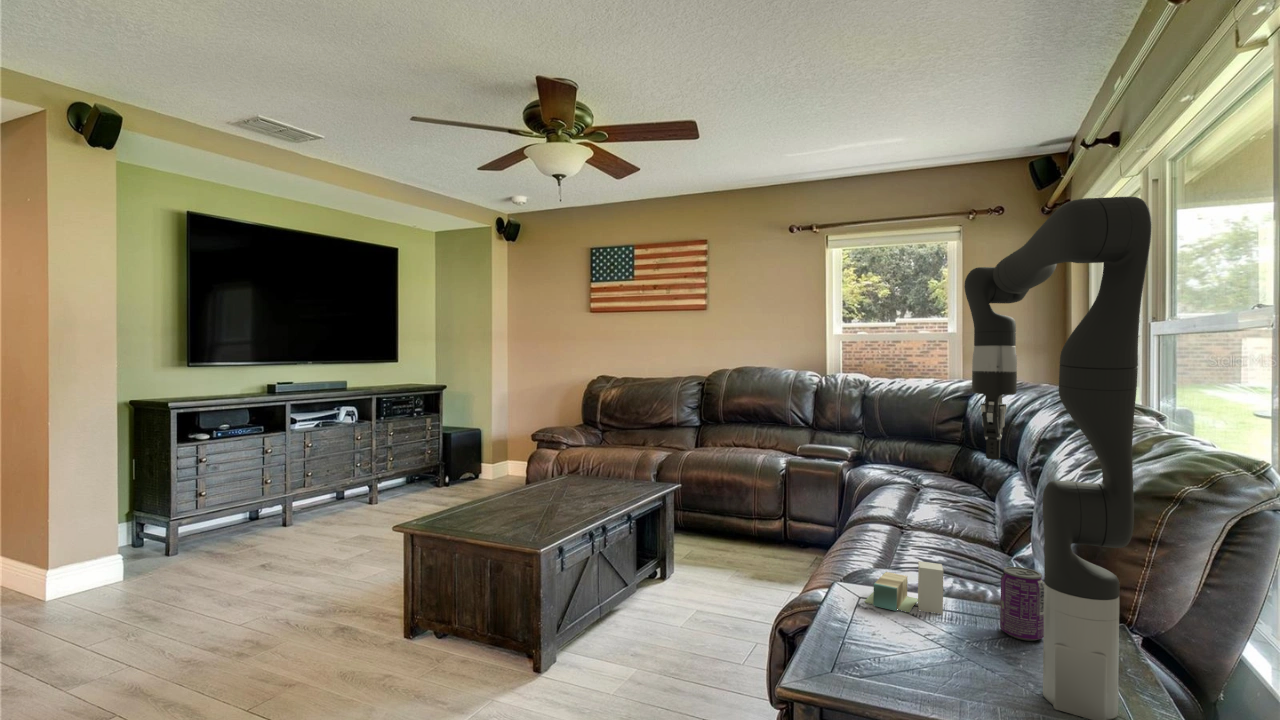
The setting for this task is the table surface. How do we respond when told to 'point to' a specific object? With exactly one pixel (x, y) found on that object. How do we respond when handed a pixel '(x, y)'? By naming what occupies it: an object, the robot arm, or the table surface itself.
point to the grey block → (930, 587)
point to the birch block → (890, 591)
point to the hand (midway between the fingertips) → (993, 458)
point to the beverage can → (1022, 603)
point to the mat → (905, 606)
